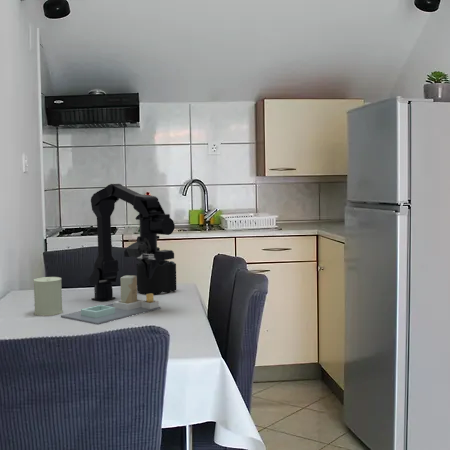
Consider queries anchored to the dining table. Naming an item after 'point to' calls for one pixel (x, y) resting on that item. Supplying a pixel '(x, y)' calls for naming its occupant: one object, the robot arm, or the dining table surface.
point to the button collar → (149, 304)
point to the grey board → (107, 312)
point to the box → (128, 289)
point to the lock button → (149, 298)
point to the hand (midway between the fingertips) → (149, 278)
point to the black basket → (157, 278)
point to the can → (48, 296)
